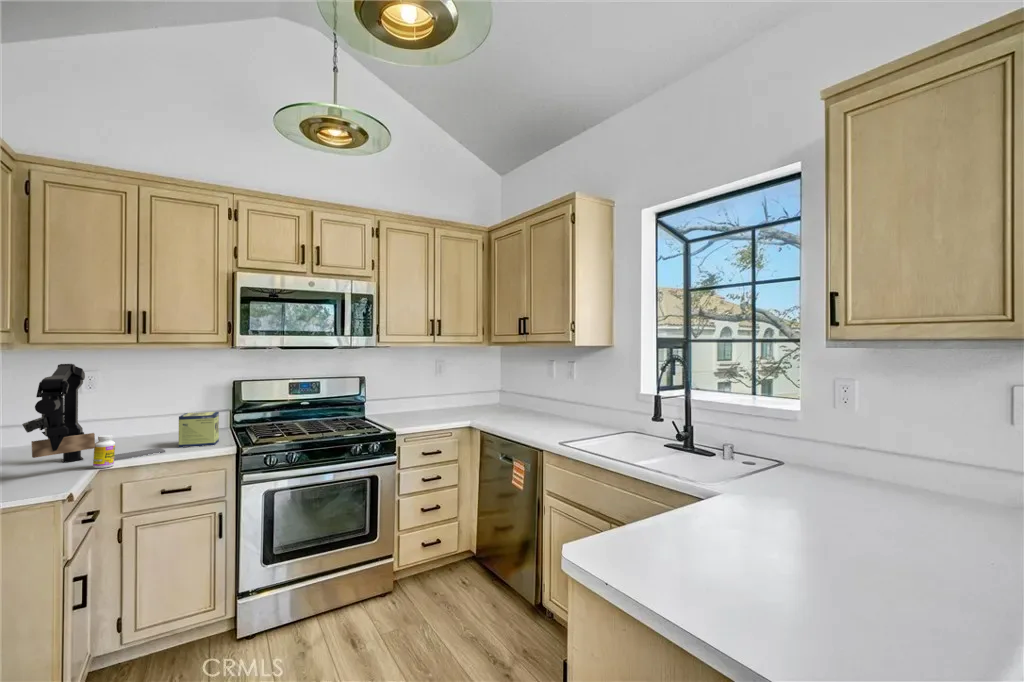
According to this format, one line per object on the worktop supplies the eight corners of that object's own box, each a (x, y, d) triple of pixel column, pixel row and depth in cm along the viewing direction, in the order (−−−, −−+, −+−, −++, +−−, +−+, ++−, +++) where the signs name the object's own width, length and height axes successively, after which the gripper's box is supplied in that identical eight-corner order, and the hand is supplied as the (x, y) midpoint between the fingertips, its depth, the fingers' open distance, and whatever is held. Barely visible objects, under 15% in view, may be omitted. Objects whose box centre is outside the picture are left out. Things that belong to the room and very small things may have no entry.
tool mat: (99, 459, 208) (99, 456, 208) (159, 449, 226) (159, 447, 226) (104, 462, 204) (104, 459, 203) (165, 452, 221) (165, 450, 221)
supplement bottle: (104, 468, 193) (106, 437, 193) (88, 468, 193) (90, 436, 193) (118, 465, 200) (120, 434, 200) (102, 464, 200) (104, 434, 200)
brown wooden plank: (32, 457, 179) (32, 442, 179) (32, 456, 181) (31, 441, 180) (95, 448, 193) (94, 433, 193) (93, 447, 195) (93, 432, 195)
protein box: (215, 445, 235) (215, 414, 235) (177, 448, 229) (177, 416, 229) (219, 441, 245) (219, 411, 245) (183, 443, 239) (183, 412, 239)
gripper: (21, 410, 184) (21, 450, 184) (27, 415, 172) (27, 458, 172) (60, 407, 193) (60, 445, 193) (69, 412, 181) (69, 452, 181)
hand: (54, 450), depth 185 cm, fingers closed on brown wooden plank, 2 cm apart
